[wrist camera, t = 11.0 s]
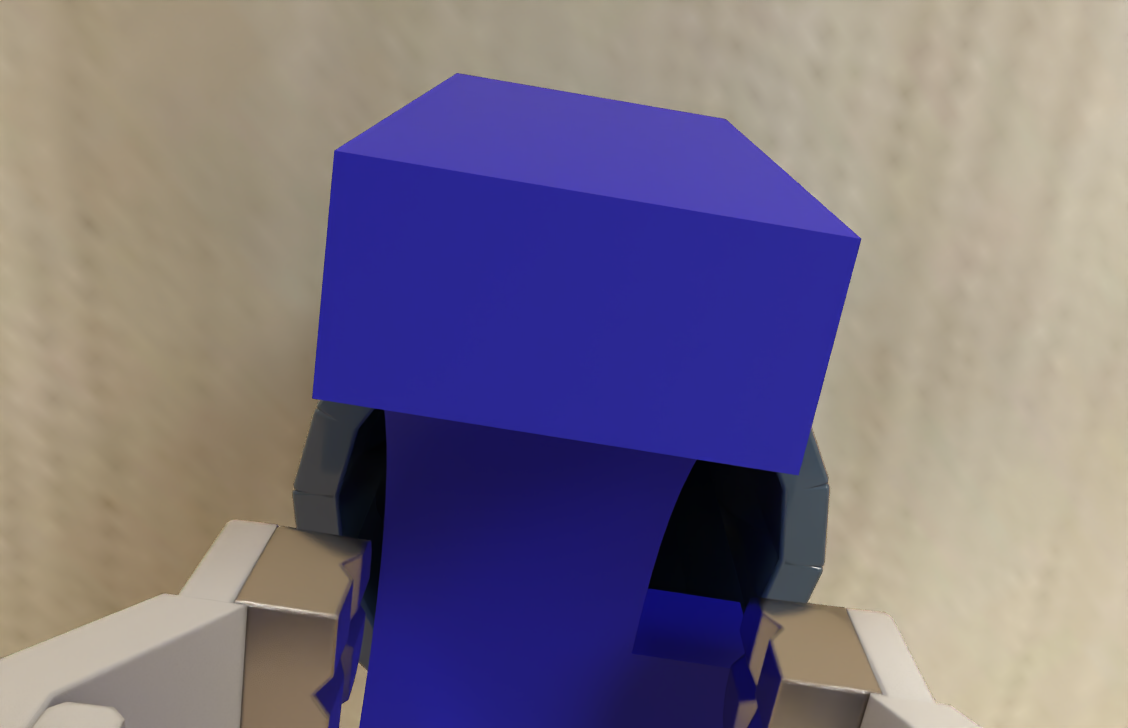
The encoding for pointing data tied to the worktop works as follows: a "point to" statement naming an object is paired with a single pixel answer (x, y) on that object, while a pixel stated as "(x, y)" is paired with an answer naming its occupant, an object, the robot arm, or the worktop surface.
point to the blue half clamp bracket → (564, 389)
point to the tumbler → (689, 546)
